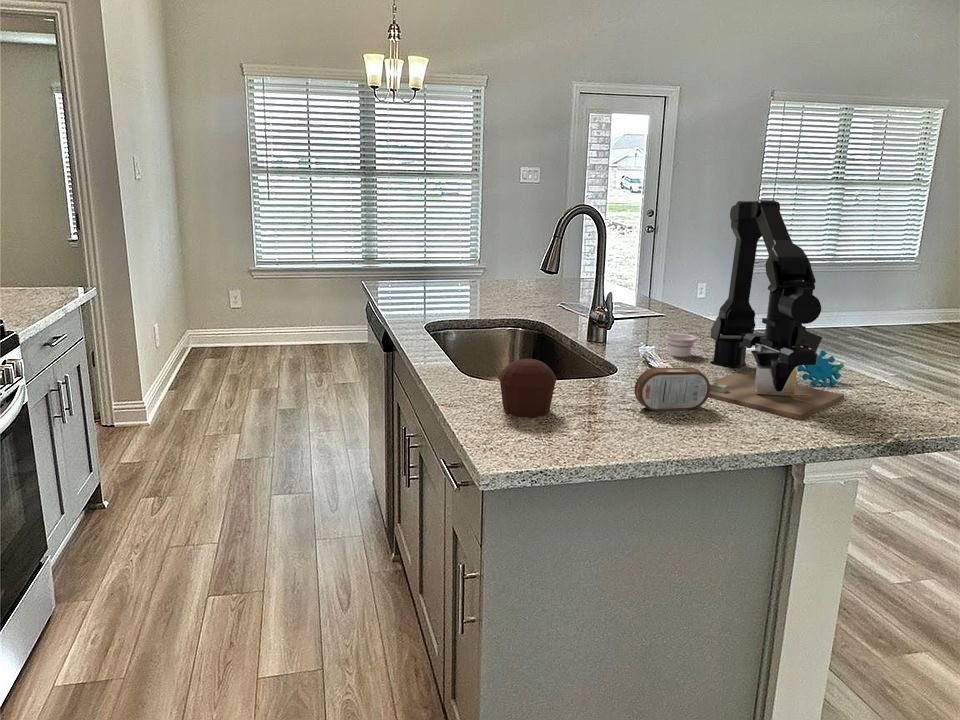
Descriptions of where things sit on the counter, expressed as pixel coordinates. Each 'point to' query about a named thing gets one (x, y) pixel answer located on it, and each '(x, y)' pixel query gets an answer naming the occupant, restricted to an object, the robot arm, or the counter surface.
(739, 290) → the robot arm
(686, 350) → the pink white bowl
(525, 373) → the muffin
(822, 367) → the gear
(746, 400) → the base
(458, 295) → the counter surface
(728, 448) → the counter surface
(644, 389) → the tin
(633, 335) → the counter surface
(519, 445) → the counter surface
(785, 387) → the white box tan top
